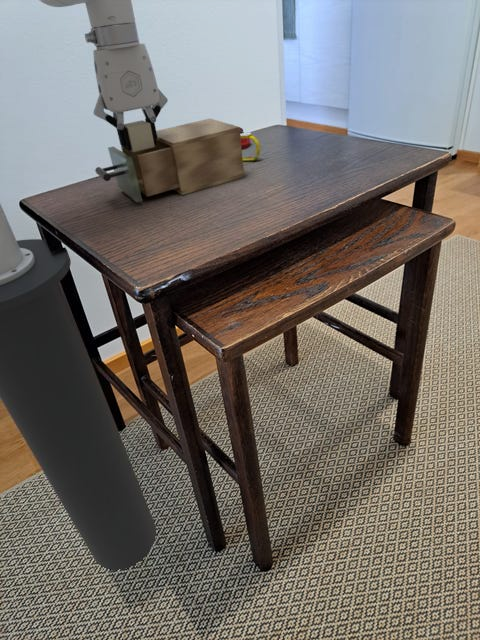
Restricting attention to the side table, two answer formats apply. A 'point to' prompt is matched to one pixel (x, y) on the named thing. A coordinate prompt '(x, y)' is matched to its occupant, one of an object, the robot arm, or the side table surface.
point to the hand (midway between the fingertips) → (140, 145)
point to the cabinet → (204, 153)
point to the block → (140, 135)
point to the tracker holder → (244, 140)
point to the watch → (249, 135)
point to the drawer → (142, 170)
